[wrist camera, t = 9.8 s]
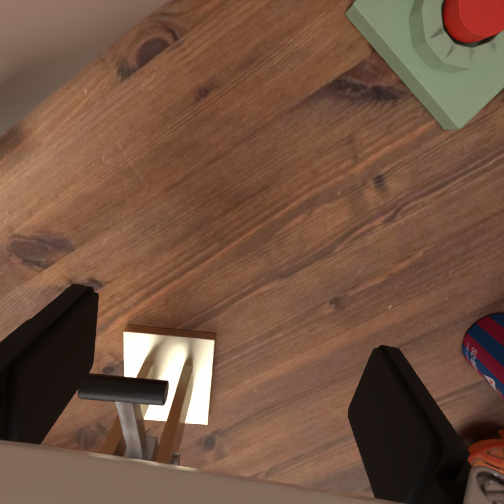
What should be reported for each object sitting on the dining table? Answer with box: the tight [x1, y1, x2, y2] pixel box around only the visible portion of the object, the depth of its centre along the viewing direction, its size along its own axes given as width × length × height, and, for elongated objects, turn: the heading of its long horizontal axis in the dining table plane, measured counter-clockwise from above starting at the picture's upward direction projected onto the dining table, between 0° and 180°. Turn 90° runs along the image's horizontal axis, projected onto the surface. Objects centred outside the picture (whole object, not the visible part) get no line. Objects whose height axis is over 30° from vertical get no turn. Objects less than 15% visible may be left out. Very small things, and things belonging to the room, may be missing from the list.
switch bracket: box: [100, 325, 216, 466], centre depth 30 cm, size 11×9×12 cm
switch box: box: [345, 0, 504, 130], centre depth 23 cm, size 12×9×4 cm
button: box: [443, 0, 504, 43], centre depth 20 cm, size 4×4×2 cm
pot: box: [466, 430, 504, 474], centre depth 36 cm, size 8×8×7 cm
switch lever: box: [78, 373, 169, 462], centre depth 23 cm, size 12×5×2 cm, turn 174°
